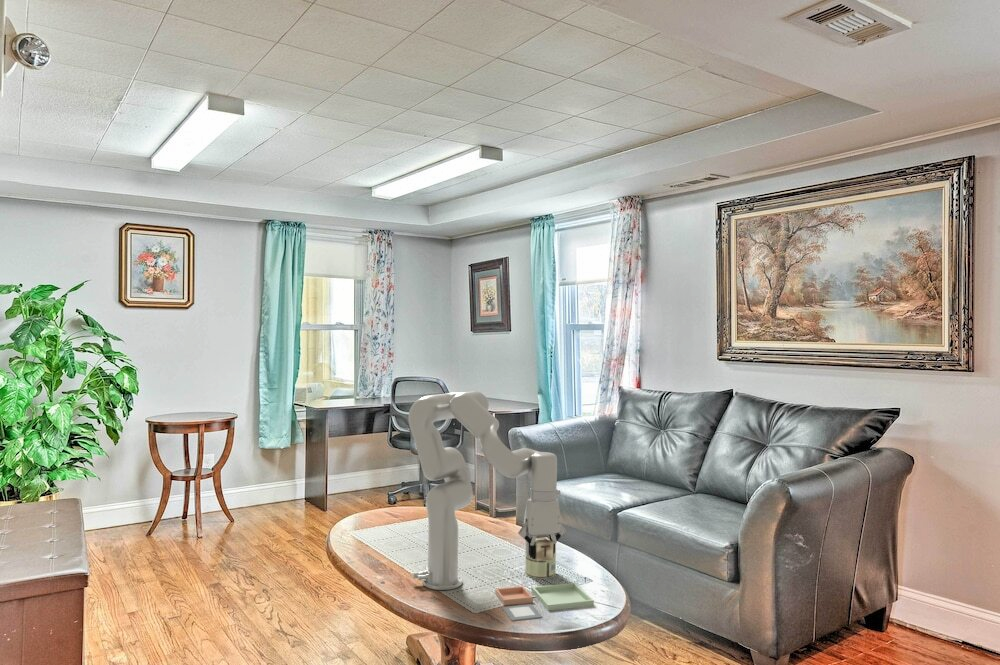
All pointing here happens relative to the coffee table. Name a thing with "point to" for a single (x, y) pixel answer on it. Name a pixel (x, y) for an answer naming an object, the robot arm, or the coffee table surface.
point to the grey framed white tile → (522, 612)
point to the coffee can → (539, 564)
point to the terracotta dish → (513, 595)
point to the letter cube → (544, 549)
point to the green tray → (562, 596)
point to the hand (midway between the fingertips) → (541, 556)
